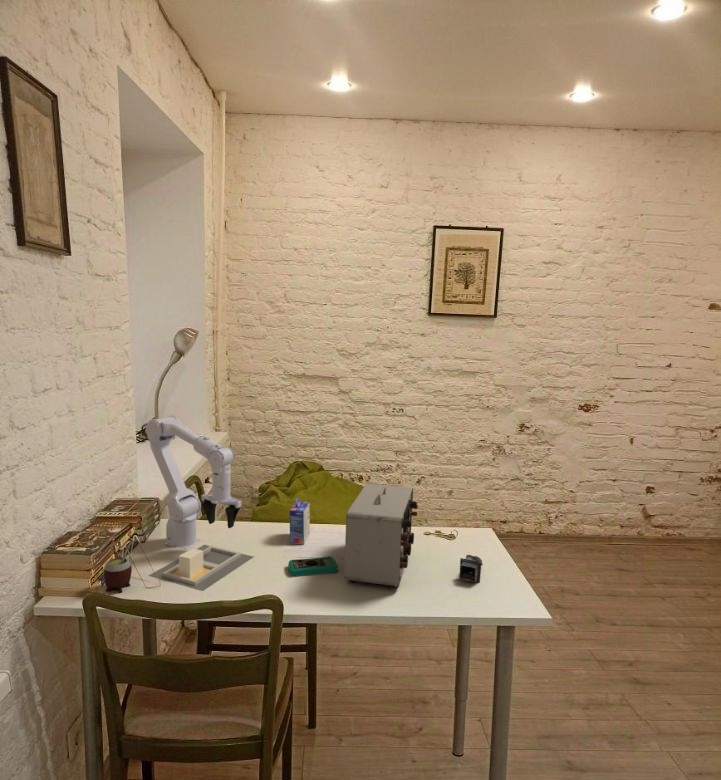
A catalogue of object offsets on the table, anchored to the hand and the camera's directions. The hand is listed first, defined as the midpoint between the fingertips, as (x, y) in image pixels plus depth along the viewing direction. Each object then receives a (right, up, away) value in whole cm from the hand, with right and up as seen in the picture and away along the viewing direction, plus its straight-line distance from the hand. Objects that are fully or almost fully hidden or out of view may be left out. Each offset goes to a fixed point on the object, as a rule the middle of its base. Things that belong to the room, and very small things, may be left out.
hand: (221, 525), depth 174 cm
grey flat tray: (-3, -11, -10) cm, 15 cm away
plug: (-5, -10, -15) cm, 19 cm away
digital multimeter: (+31, -12, -8) cm, 34 cm away
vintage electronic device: (+53, -12, -4) cm, 54 cm away
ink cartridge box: (+24, -9, +15) cm, 29 cm away
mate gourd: (-22, -12, -24) cm, 35 cm away
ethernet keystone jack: (+80, -14, -9) cm, 82 cm away
